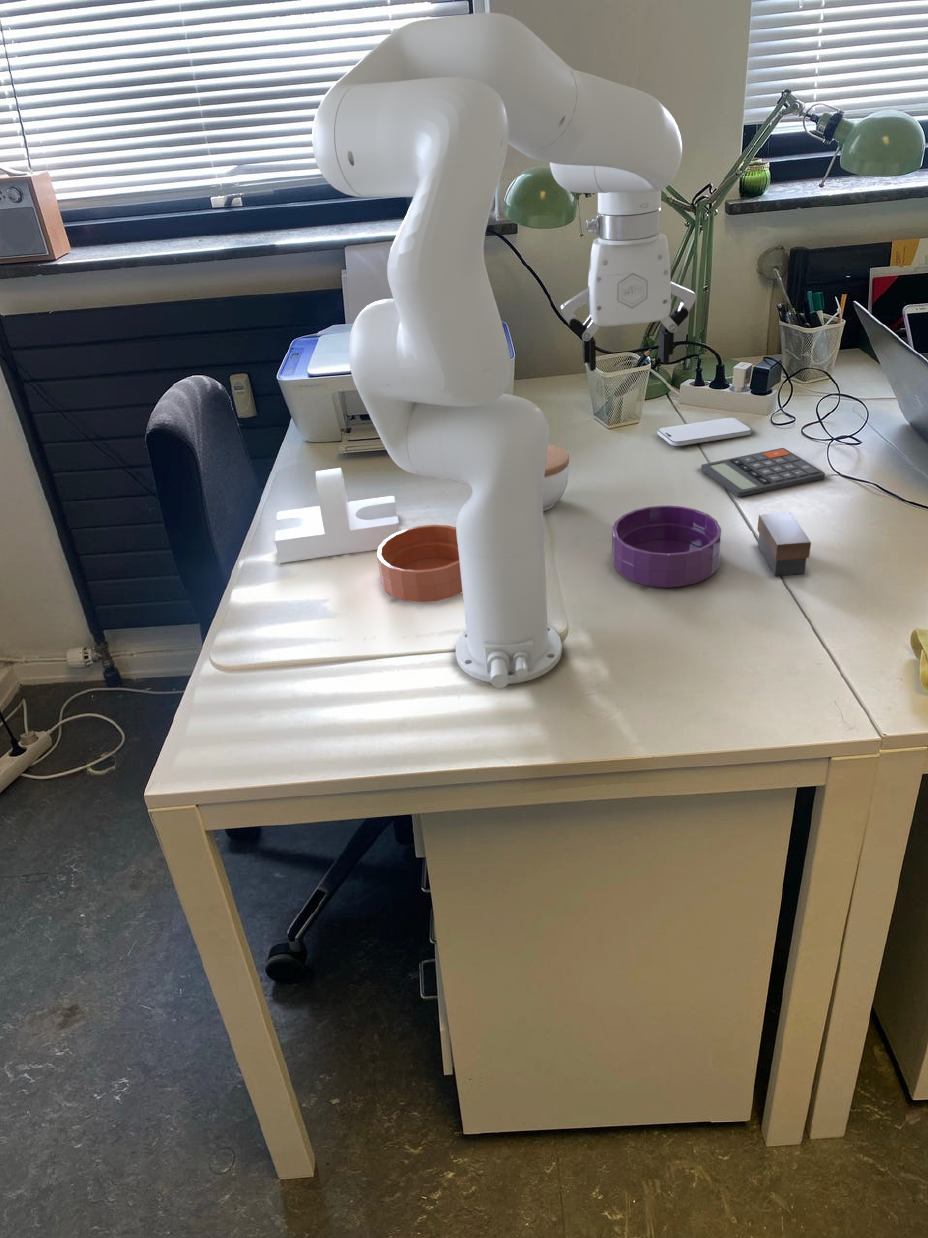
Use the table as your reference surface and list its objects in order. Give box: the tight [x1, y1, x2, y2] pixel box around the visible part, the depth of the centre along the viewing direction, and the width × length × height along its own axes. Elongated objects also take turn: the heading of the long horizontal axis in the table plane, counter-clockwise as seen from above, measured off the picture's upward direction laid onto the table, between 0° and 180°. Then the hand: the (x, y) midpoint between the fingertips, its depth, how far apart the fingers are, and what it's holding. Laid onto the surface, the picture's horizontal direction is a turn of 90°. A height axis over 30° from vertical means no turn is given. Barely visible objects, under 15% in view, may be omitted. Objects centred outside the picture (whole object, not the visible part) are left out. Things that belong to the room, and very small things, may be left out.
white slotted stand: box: [274, 467, 401, 564], centre depth 133 cm, size 18×10×11 cm, turn 98°
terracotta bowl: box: [376, 524, 463, 603], centre depth 122 cm, size 13×13×5 cm
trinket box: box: [543, 444, 570, 512], centre depth 138 cm, size 11×11×9 cm
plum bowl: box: [611, 505, 723, 588], centre depth 120 cm, size 14×14×5 cm
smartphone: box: [656, 416, 752, 447], centre depth 157 cm, size 7×1×15 cm
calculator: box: [700, 447, 826, 498], centre depth 142 cm, size 12×1×15 cm
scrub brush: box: [757, 512, 812, 577], centre depth 119 cm, size 9×4×5 cm, turn 0°
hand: (627, 363), depth 120 cm, fingers open, 9 cm apart
